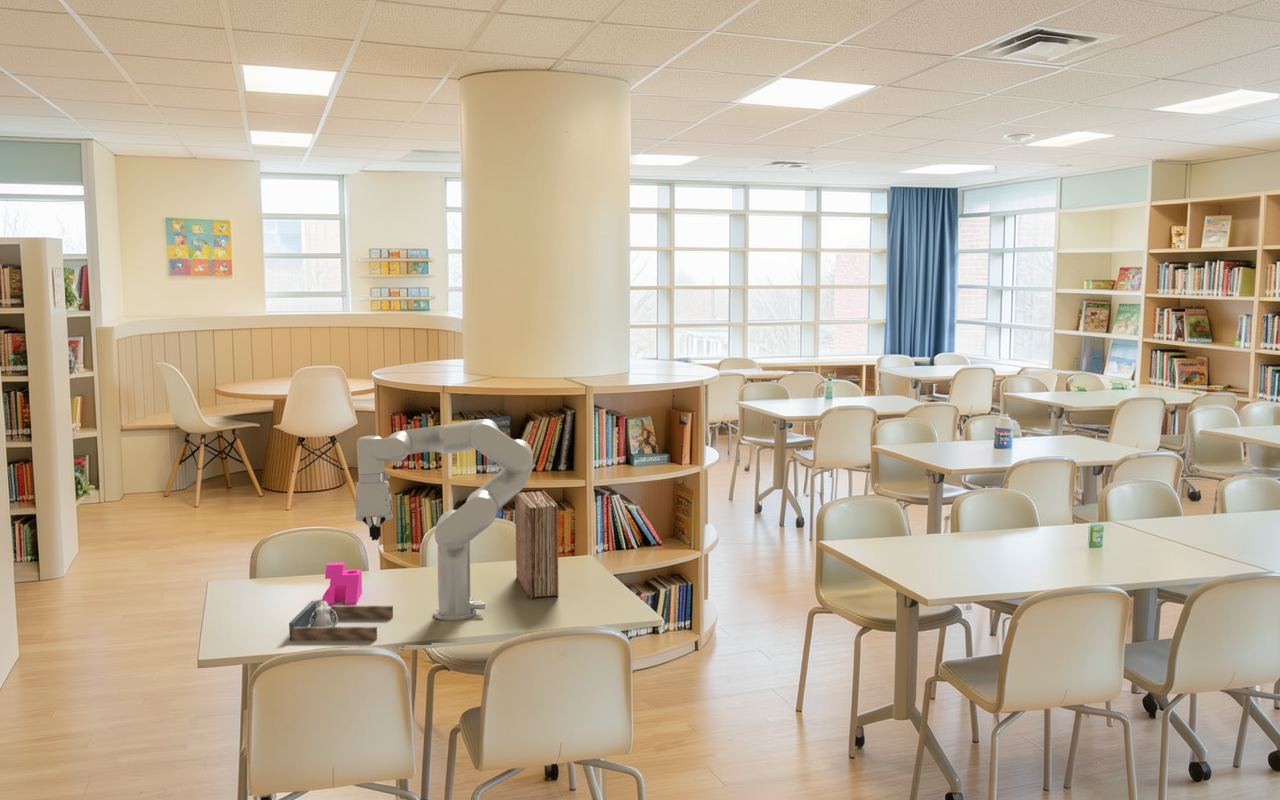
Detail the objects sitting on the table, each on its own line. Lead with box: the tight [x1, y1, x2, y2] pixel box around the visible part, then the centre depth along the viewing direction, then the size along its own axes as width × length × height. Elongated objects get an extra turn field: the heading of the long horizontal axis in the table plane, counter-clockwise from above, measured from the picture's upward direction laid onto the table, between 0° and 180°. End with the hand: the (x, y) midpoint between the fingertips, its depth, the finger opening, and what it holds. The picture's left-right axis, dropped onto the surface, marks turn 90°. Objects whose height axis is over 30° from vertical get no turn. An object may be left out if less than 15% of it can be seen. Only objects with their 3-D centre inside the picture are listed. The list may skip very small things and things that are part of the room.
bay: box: [288, 600, 394, 641], centre depth 280 cm, size 24×19×5 cm
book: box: [514, 489, 559, 601], centre depth 317 cm, size 25×9×30 cm, turn 17°
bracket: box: [321, 562, 363, 606], centre depth 306 cm, size 12×10×10 cm
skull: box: [309, 600, 339, 627], centre depth 279 cm, size 8×9×12 cm
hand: (375, 539), depth 287 cm, fingers closed
